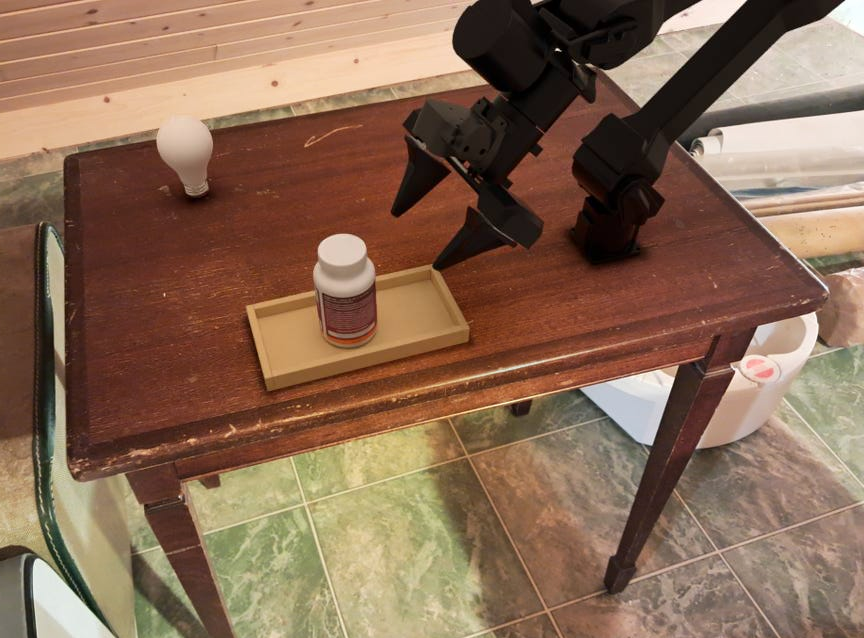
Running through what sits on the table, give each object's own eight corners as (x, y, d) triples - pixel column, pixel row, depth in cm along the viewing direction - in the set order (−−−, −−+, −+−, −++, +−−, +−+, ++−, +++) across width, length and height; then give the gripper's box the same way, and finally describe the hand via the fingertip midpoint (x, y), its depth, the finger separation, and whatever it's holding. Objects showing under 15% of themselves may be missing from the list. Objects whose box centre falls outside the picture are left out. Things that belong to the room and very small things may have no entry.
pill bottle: (390, 328, 77) (388, 249, 68) (346, 359, 74) (339, 281, 66) (350, 299, 80) (344, 220, 71) (307, 328, 77) (296, 249, 69)
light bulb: (228, 180, 96) (211, 103, 87) (219, 211, 91) (201, 134, 83) (178, 180, 96) (157, 104, 87) (167, 211, 92) (144, 134, 83)
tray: (434, 276, 83) (435, 262, 81) (468, 341, 76) (470, 328, 75) (248, 319, 79) (245, 305, 77) (267, 391, 72) (264, 378, 71)
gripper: (421, 24, 66) (320, 159, 72) (532, 123, 55) (403, 273, 61) (488, 84, 74) (393, 201, 80) (597, 181, 63) (477, 309, 69)
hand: (413, 241), depth 72 cm, fingers open, 9 cm apart
